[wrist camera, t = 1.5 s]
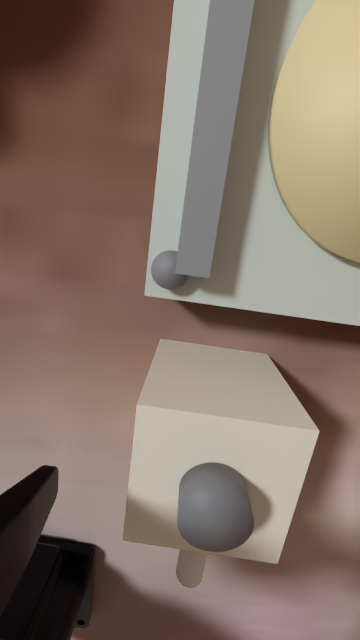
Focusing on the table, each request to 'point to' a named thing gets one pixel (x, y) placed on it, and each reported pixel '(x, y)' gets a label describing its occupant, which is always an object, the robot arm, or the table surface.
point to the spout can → (216, 456)
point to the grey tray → (260, 159)
